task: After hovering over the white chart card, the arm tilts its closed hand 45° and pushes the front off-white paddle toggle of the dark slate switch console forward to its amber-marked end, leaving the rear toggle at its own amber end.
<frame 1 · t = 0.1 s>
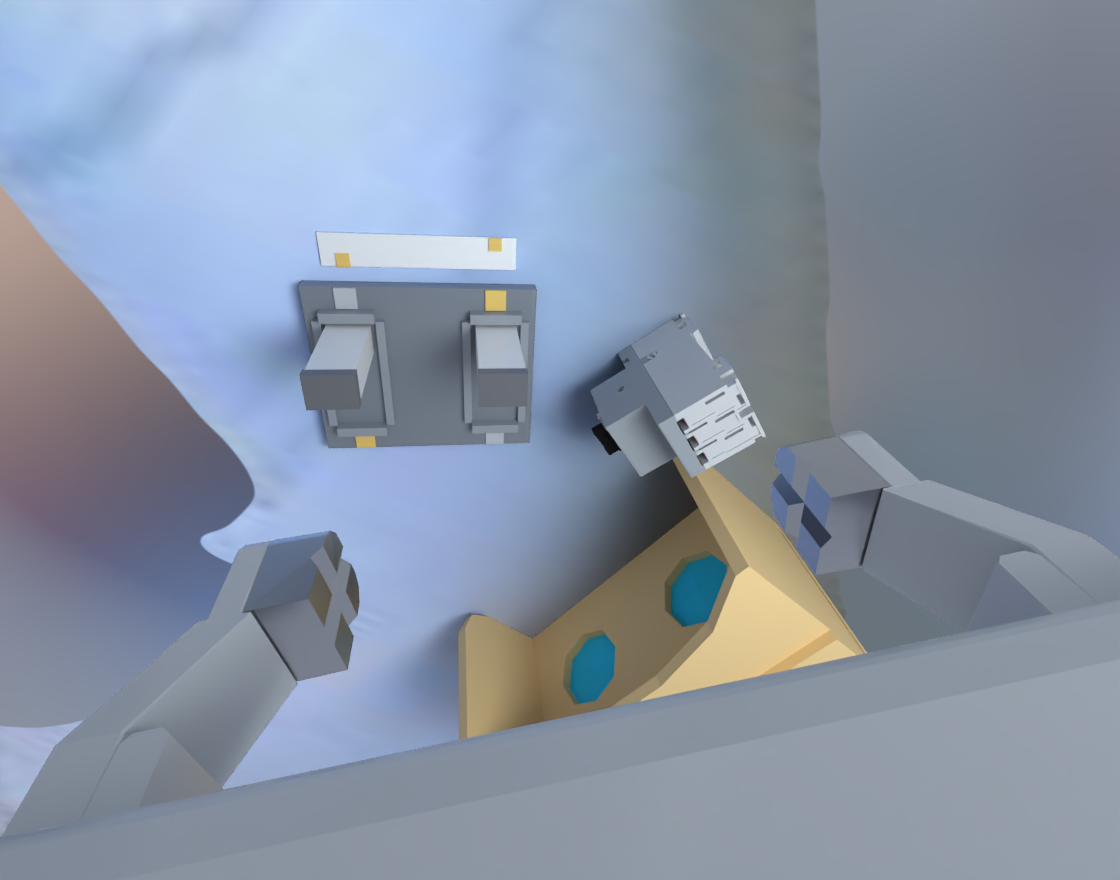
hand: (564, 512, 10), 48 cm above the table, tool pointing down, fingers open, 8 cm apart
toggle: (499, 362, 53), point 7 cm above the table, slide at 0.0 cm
cardboard box: (618, 566, 82), on the table
switch console: (427, 366, 60), on the table
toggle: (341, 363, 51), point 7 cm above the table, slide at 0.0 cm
circuit breaker: (640, 372, 65), on the table
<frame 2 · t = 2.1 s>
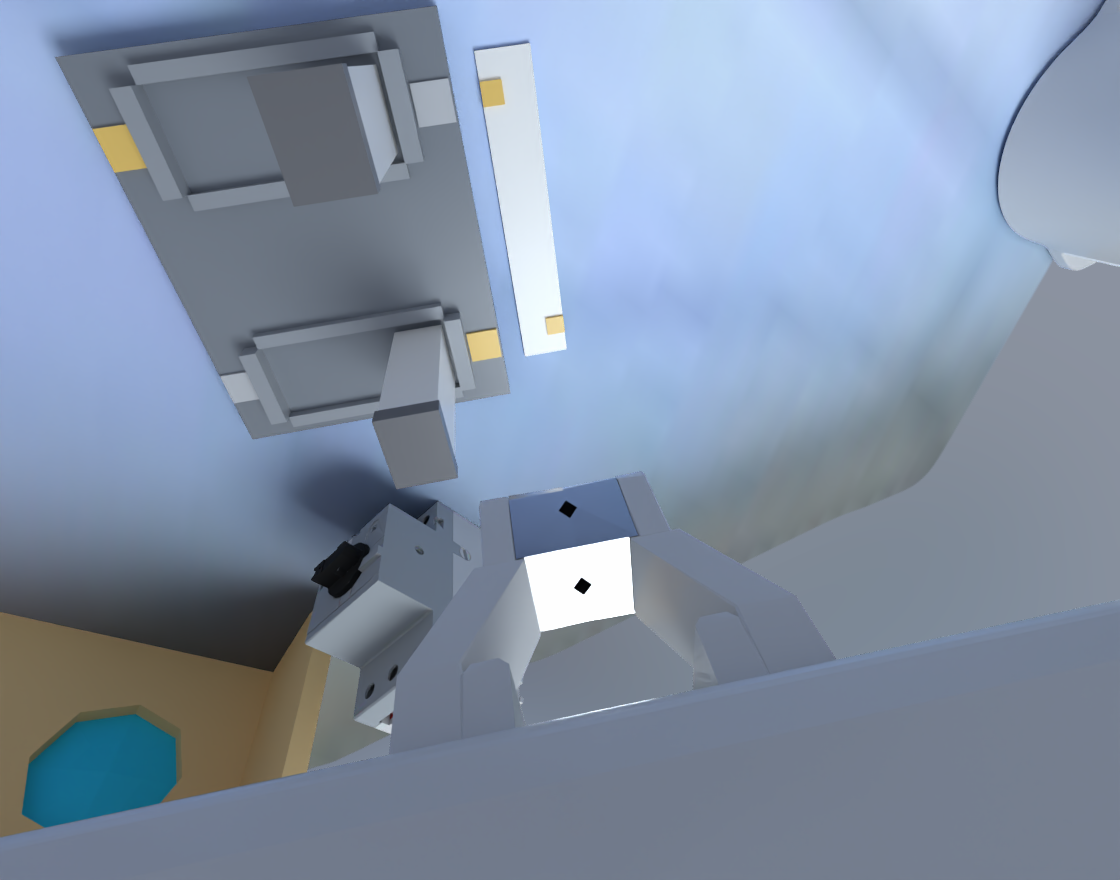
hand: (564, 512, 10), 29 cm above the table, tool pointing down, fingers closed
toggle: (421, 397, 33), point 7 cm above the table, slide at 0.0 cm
cardboard box: (46, 616, 47), on the table
switch console: (333, 252, 35), on the table
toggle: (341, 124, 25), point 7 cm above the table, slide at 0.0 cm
circuit breaker: (417, 531, 48), on the table
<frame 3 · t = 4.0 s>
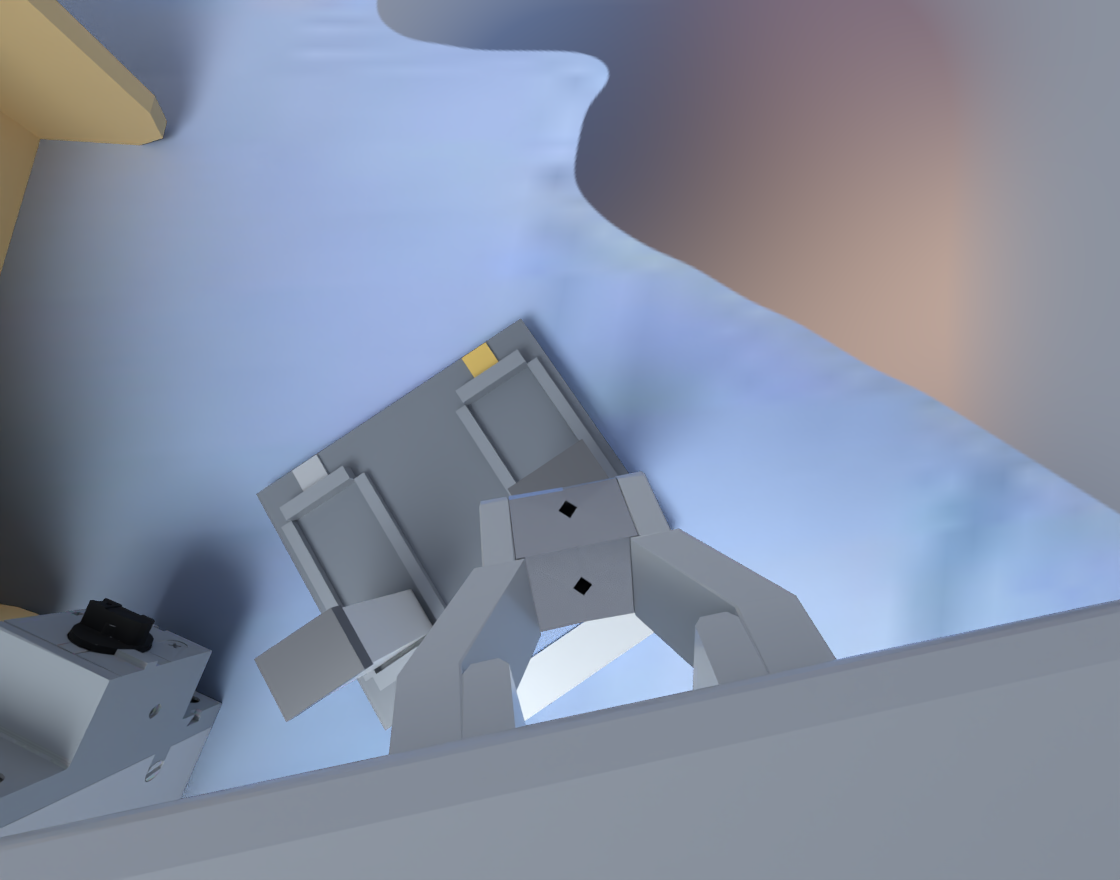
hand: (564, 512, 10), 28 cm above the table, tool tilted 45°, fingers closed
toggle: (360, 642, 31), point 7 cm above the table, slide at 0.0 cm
switch console: (462, 514, 39), on the table
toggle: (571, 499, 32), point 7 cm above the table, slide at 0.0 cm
circuit breaker: (171, 694, 39), on the table
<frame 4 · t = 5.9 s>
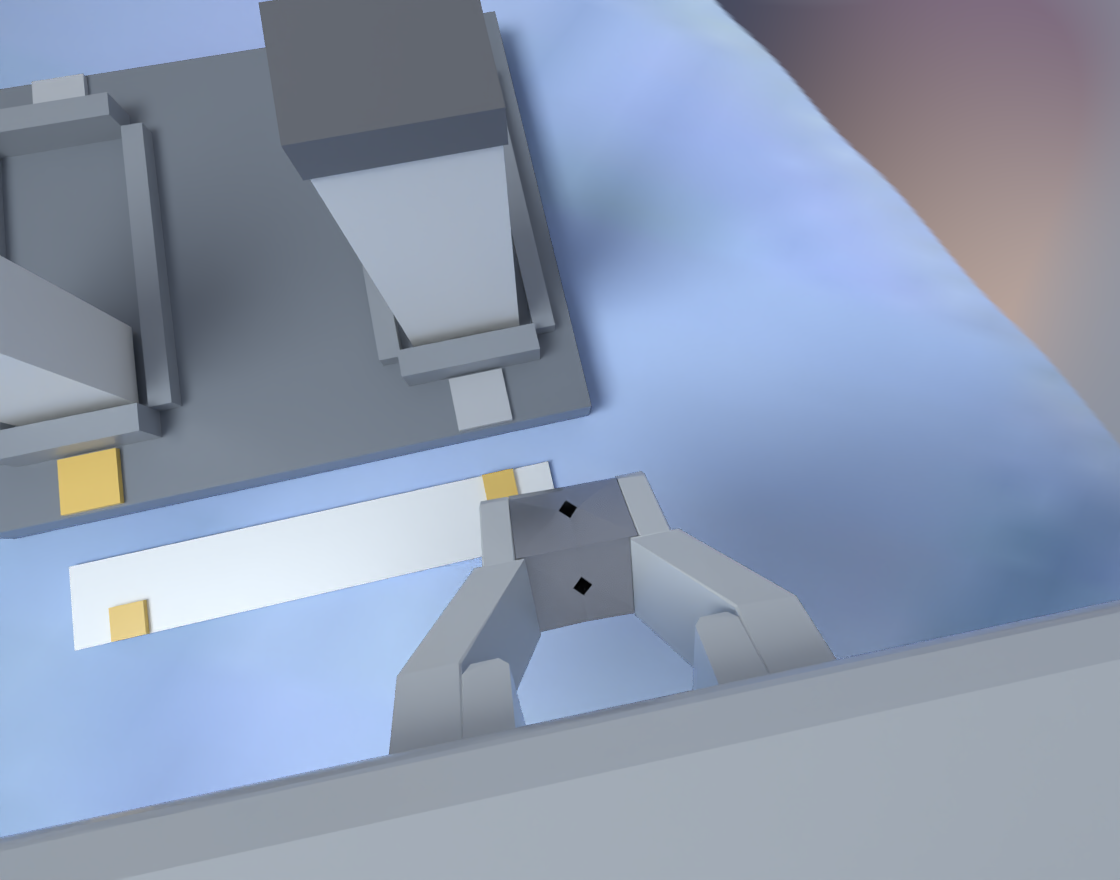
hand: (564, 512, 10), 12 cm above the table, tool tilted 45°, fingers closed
switch console: (280, 264, 24), on the table
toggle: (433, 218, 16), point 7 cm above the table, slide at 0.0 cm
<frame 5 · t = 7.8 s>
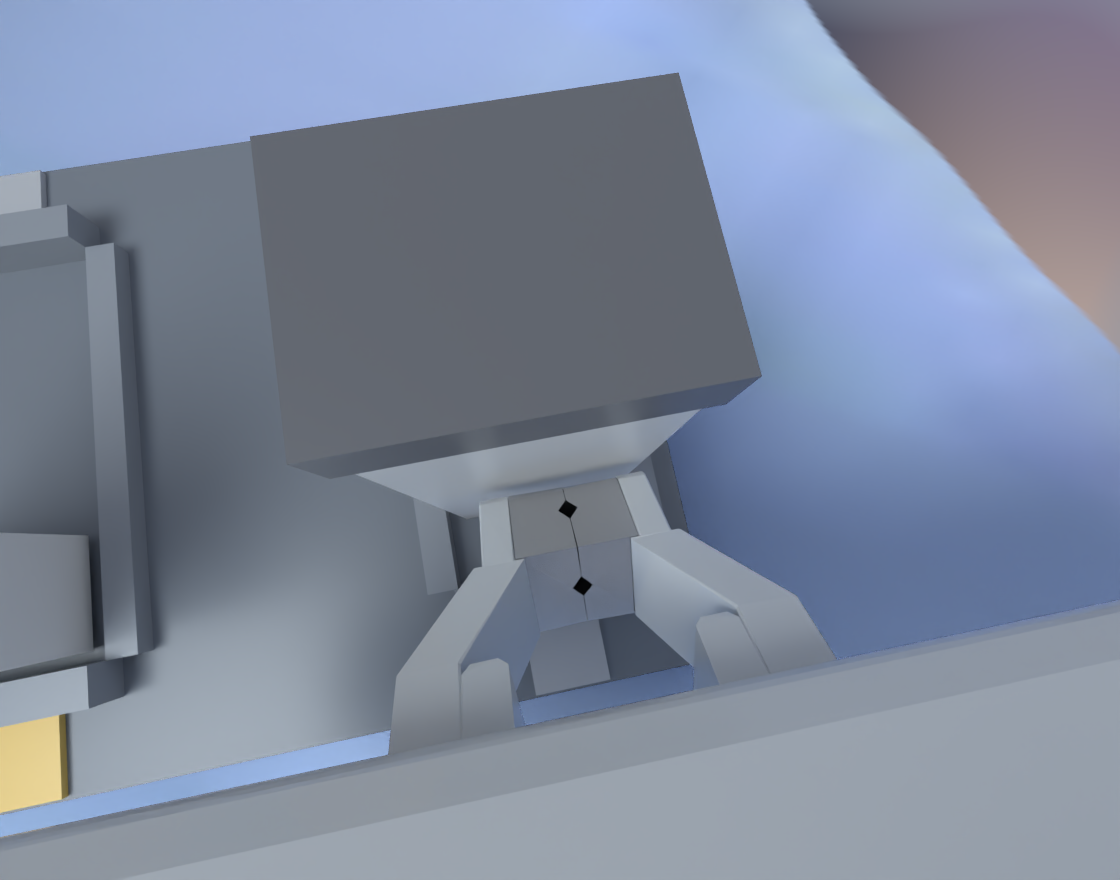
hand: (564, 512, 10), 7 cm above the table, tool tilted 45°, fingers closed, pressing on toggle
switch console: (295, 426, 18), on the table
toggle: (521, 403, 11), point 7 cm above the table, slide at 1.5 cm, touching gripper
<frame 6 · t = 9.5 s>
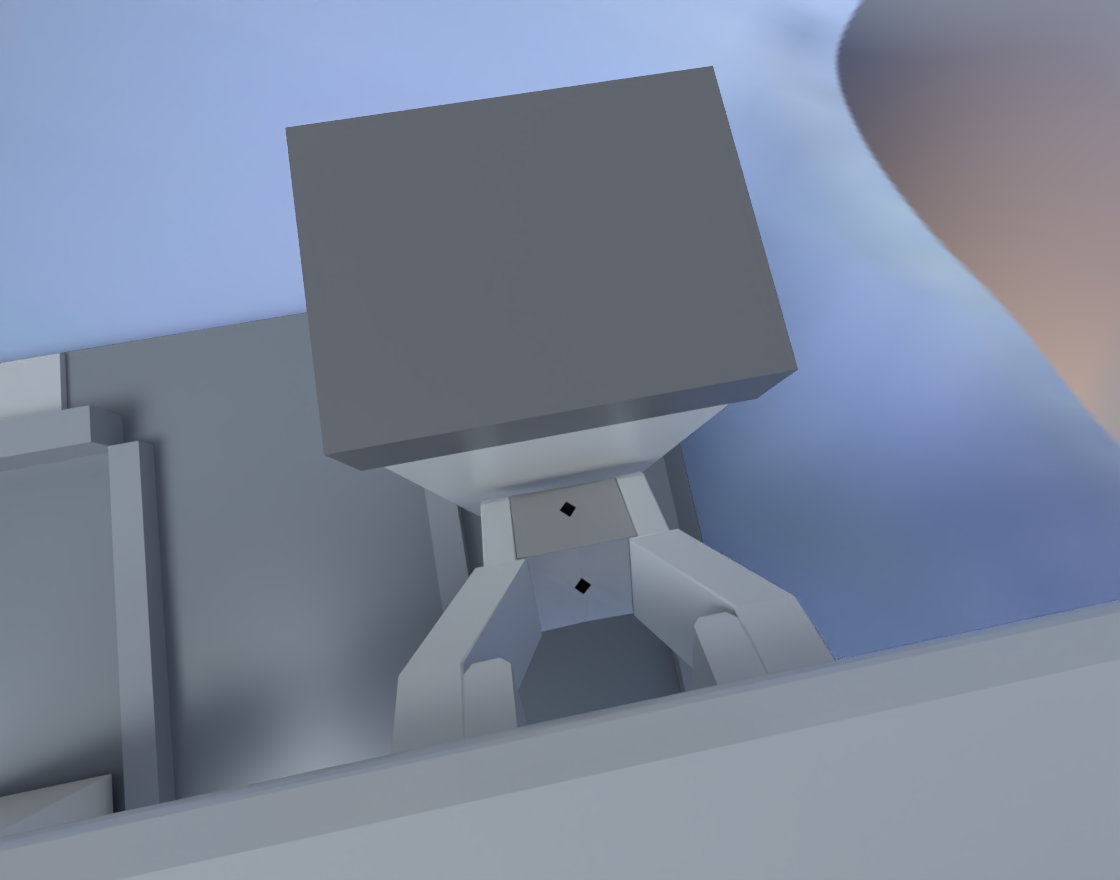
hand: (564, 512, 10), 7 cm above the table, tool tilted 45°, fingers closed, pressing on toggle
switch console: (328, 621, 17), on the table
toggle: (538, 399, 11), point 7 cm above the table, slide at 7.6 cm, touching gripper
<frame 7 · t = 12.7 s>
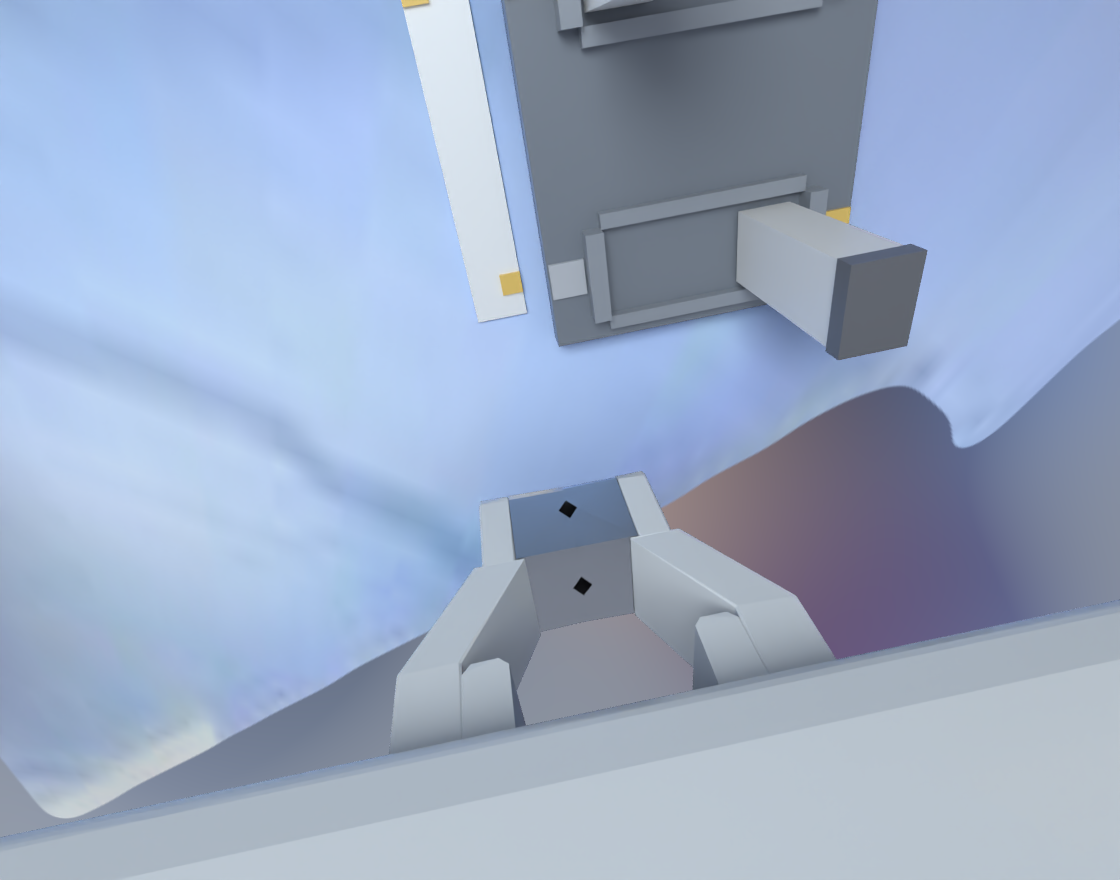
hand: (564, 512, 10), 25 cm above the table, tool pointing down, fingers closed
switch console: (689, 114, 30), on the table
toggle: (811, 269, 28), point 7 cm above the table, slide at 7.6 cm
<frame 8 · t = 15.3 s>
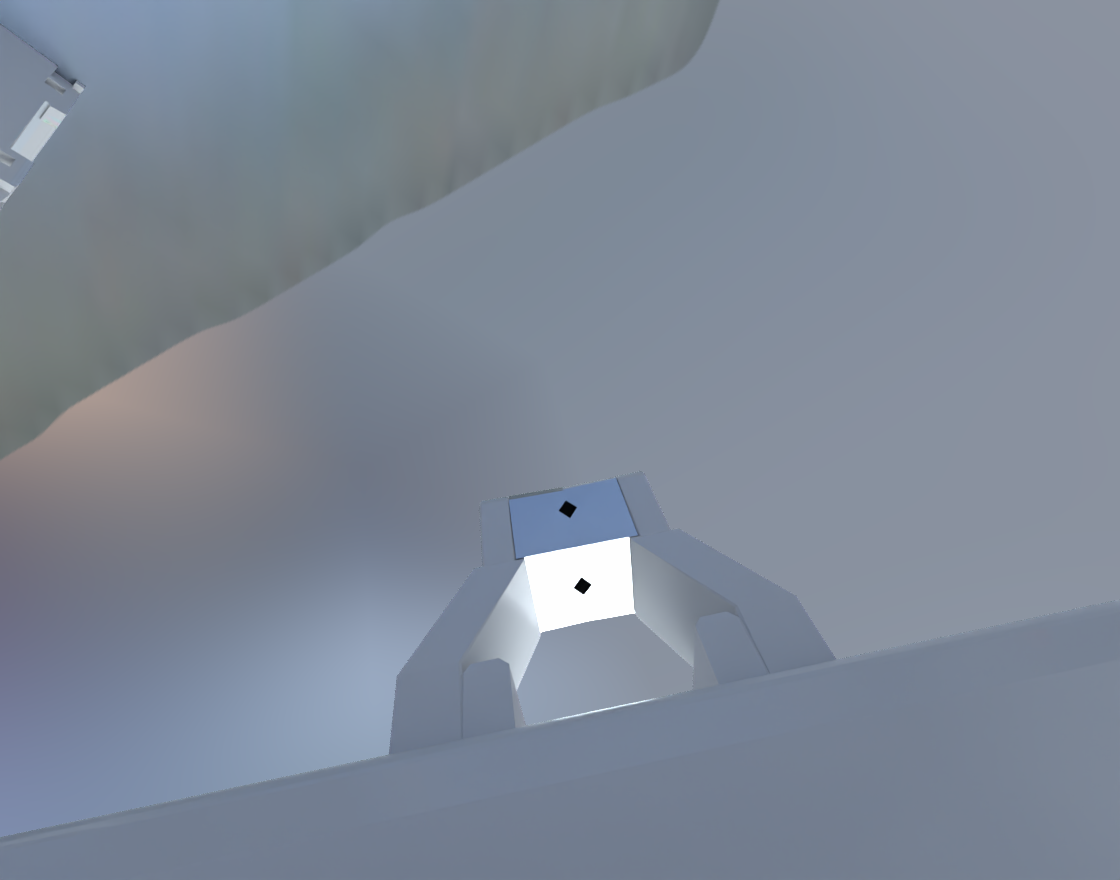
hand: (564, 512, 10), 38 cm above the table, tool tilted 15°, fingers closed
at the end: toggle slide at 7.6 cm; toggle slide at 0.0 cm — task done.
